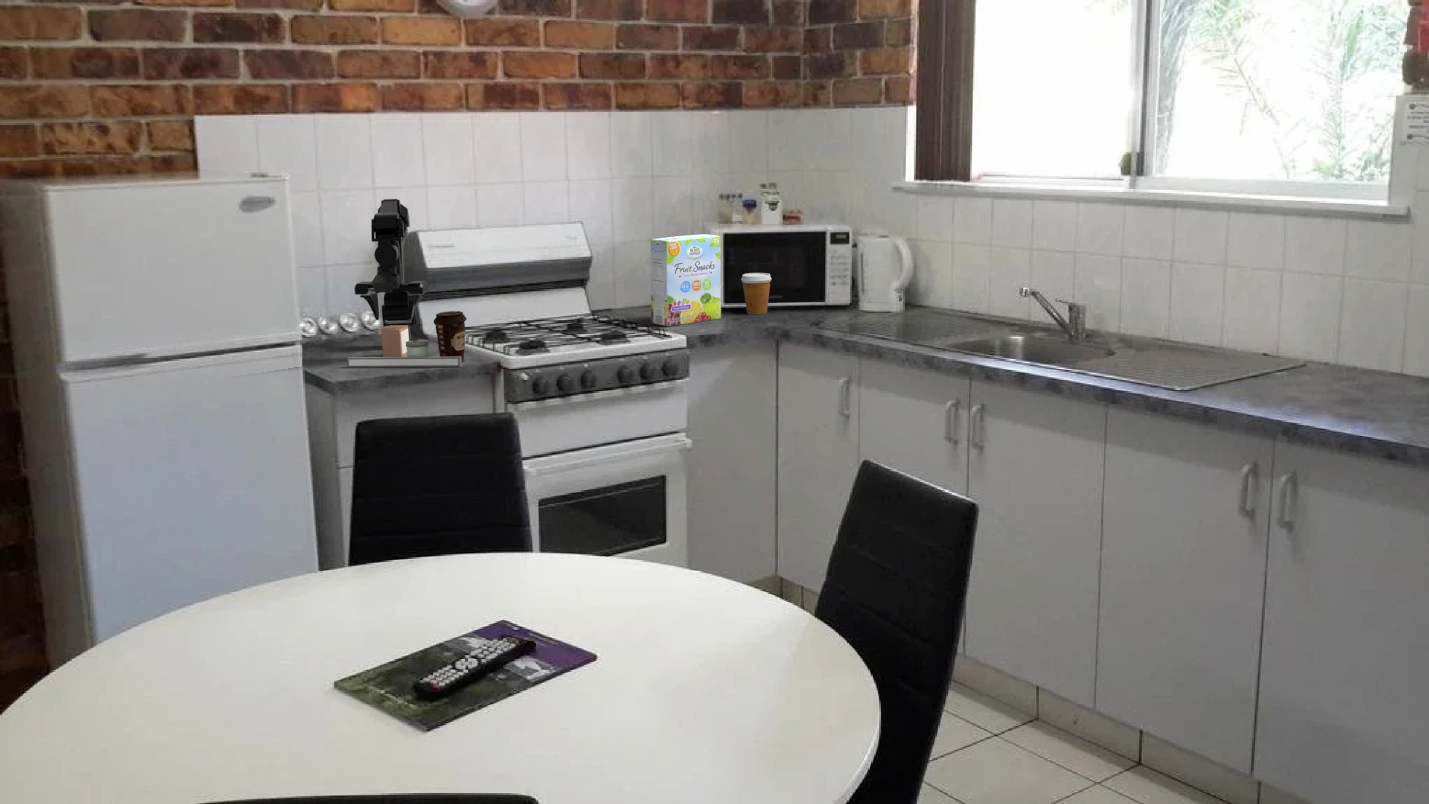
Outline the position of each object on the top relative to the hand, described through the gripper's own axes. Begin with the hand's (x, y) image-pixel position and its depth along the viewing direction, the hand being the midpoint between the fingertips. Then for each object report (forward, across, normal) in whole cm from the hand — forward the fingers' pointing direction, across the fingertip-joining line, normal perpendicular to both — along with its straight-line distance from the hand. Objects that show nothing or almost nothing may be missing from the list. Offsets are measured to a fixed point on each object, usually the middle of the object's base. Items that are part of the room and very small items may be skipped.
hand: (394, 319), depth 362 cm
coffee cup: (+10, +18, -8) cm, 22 cm away
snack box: (+10, +72, +55) cm, 91 cm away
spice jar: (+10, +10, -11) cm, 17 cm away
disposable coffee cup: (+10, +92, +71) cm, 117 cm away
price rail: (+10, +7, -14) cm, 19 cm away
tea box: (+10, 0, 0) cm, 10 cm away
